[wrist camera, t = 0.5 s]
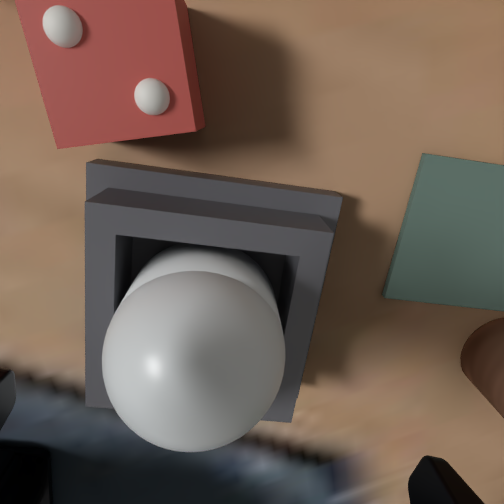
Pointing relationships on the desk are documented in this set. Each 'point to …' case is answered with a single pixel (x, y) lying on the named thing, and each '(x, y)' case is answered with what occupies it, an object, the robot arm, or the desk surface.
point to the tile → (452, 236)
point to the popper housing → (211, 234)
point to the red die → (113, 68)
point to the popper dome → (195, 348)
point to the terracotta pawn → (486, 362)
